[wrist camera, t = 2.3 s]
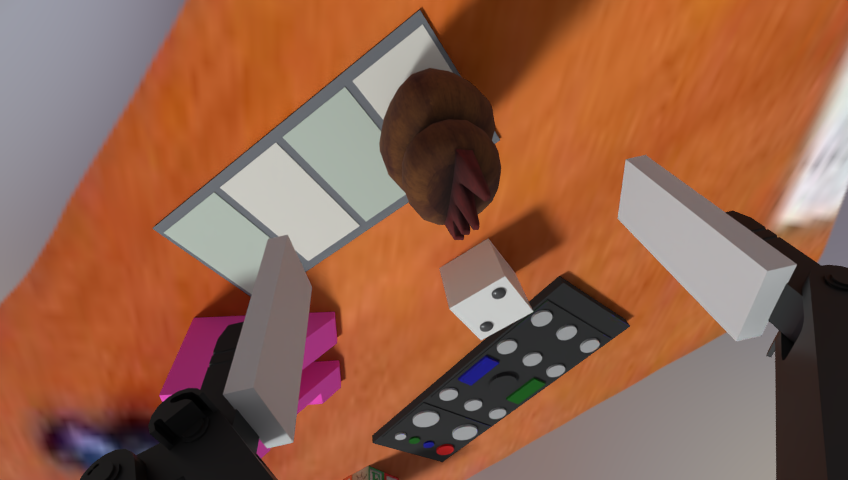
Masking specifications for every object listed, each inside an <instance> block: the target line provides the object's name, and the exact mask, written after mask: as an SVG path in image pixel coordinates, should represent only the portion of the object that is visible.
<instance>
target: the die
mask: <svg viewBox="0 0 848 480" xmlns="http://www.w3.org/2000/svg"><path fill="white" fill-rule="evenodd" d="M439 269H440V273H441V277H442V281H443V285H444V289H445V293H446V297H447V301H448V305H449V309H450V310H451V311H452V312H453V313H454V314H455V315H456V316H457V317H458V318H459V319H460V320H461V321H462V322H463V323H464V324H465V325H466V326H467V327H468V328H469V329H470V330H471V331H472V332H473V333H474V334H475V335H476V336H477V337H478V338H479V339H480V340H483V339H484V338H486V337H488V336H490V335H492V334H494V333H495V332H497V331H499V330H501V329H503V328H505V327H506V326H508V325H510V324H512V323H514V322H515V321H517V320H519V319H521V318H523V317H525V316H526V315H528V314H530V313H532V312H533V310H532V308H531V306H530V303H529V301H528V299H527V297H526V295H525V293H524V291H523V289H522V286H521V284H520V282H519V280H518V278H517V276H516V274H515V272H514V271H513V269H512V268H511V267H510V266H509V264H508V263H507V262H506V260H505V259H504V258H503V257H502V255H501V254H500V253H499V251H498V250H497V249H496V247H495V246H494V245H493V244H492V242H491V241H490V240H489V238H488V239H486V240H484V241H483V242H481V243H480V244H478V245H476V246H475V247H473V248H471V249H470V250H468V251H467V252H465V253H463V254H462V255H460V256H458V257H457V258H455V259H454V260H452V261H450V262H449V263H447V264H445V265H444V266H442V267H441V268H439Z"/></svg>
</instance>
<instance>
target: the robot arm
mask: <svg viewBox="0 0 848 480" xmlns="http://www.w3.org/2000/svg"><path fill="white" fill-rule="evenodd" d="M618 219H619V220H620V221H621V223H622V224H623V225H624V226H625V227H626V228H627V229H628V230H629V231H630V232H631V233H632V234H633V235H634V236H635V237H636V238H637V239H638V240H639V241H640V242H641V243H642V244H643V245H644V246H645V247H646V248H647V249H648V251H649V252H650V253H651V254H652V255H653V256H654V257H655V258H656V259H657V260H658V261H659V262H660V263H661V264H662V265H663V266H664V267H665V268H666V269H667V270H668V271H669V272H670V273H671V274H672V275H673V276H674V277H675V279H676V280H677V281H678V282H679V283H680V284H681V285H682V286H683V287H684V288H685V289H686V290H687V291H688V292H689V293H690V294H691V295H692V296H693V297H694V298H695V299H696V300H697V301H698V302H699V303H700V304H701V305H702V307H703V308H704V309H705V310H706V311H707V312H708V313H709V314H710V315H711V316H712V317H713V318H714V319H715V320H716V321H717V322H718V323H719V324H720V325H721V326H722V327H723V328H724V329H725V330H726V331H727V332H728V333H729V334H730V336H731V337H732V338H734V340H735V341H740V340H744V339H749V338H753V337H758V336H762V334H763V332H764V330H765V328H766V326H767V324H768V322H771V323H772V324H773V325H774V326H775V327H776V328H777V329H778V330H779V332H778V333H777V335H776V337H775V339H774V341H773V343H772V345H771V346H770V348H769V350H768V353H767V356H769V357H771V356H772V355H773V352H775V357H776V358H775V360H776V361H775V367H776V368H775V369H776V478H777V479H776V480H848V268H846V267H842V266H833V265H824V266H821V265H819V264H818V263H816V262H815V261H814V260H812V259H811V258H809V257H808V256H806V255H805V254H803V253H802V252H800V251H799V250H797V249H796V248H795V247H793V246H792V245H790V244H789V243H787V242H786V241H784V240H783V239H781V238H780V237H779V238H777V235H776V234H774V233H773V232H771V231H770V230H768V229H767V230H766V229H765V227H764V226H763V225H761V224H760V223H758V222H757V221H755V220H754V219H752V218H751V217H748V216H745V215H743V214H740V213H738V212H735V211H729V212H724V211H722V210H721V209H720V208H718V207H717V206H715V205H714V204H713V203H711V202H710V201H708V200H707V199H706V198H704V197H703V196H702V195H700V194H699V193H697V192H696V191H695V190H693V189H692V188H690V187H689V186H688V185H686V184H685V183H684V182H682V181H681V180H679V179H678V178H677V177H675V176H674V175H672V174H671V173H670V172H668V171H667V170H665V169H664V168H663V167H661V166H660V165H659V164H657V163H656V162H654V161H653V160H652V159H650V158H649V157H647V156H646V155H643V156H639V157H634V158H630V159H626V162H625V169H624V176H623V184H622V191H621V198H620V205H619V213H618ZM311 292H312V286H311V284H310V281H309V279H308V277H307V275H306V273H305V271H304V268H303V266H302V264H301V262H300V260H299V258H298V256H297V253H296V251H295V249H294V247H293V245H292V243H291V240H290V238H289V236H288V235H284V236H279V237H275V238H270V239H268V240H267V244H266V247H265V251H264V254H263V258H262V261H261V265H260V268H259V271H258V275H257V278H256V282H255V285H254V289H253V292H252V296H251V299H250V302H249V306H248V309H247V313H246V316H245V320H244V322H239V323H235V324H231V325H228V326H227V327H226V329H225V330H224V331H223V333H222V334H221V335H220V336H219V338H218V339H217V342H216V345H215V348H214V351H213V356H212V357H211V360H210V363H209V367H208V368H207V371H206V374H205V377H204V380H203V383H202V386H201V389H200V390H199V389H198V388H187V389H183V390H180V391H178V392H176V393H174V394H173V395H171V396H169V397H168V398H167V399H166V400H164V401H163V402H162V403H161V404H160V405H159V406H158V407H157V409H156V410H155V412H154V413H153V415H152V416H151V420H150V423H149V431H150V434H151V435H152V436H153V437H154V438H155V439H157V440H158V441H159V442H160V443H159V444H157V445H155V446H153V447H151V448H150V449H148V450H146V451H144V452H142V453H140V454H138V455H135V454H134V453H132V452H131V451H129V450H126V449H119V450H114V451H112V452H110V453H108V454H105V455H104V456H102V457H101V458H100V459H98V460H97V461H96V462H94V463H93V464H92V465H91V466H90V467H89V468H88V469H87V470H86V472H85V473H84V474H83V475H82V477H81V479H80V480H278V479H277V478H276V477H275V476H274V474H273V473H272V472H271V471H270V469H269V468H268V467H267V466H266V464H265V463H264V462H263V461H262V459H261V458H260V457H259V456H258V454H257V448H258V442H259V439H260V440H261V442H262V443H263V444H264V445H265V446H266V448H271V447H276V446H280V445H285V444H289V443H293V441H294V433H295V425H296V416H297V408H298V400H299V391H300V383H301V375H302V367H303V358H304V350H305V342H306V333H307V325H308V317H309V309H310V300H311Z"/></svg>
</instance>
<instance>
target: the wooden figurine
mask: <svg viewBox="0 0 848 480" xmlns="http://www.w3.org/2000/svg"><path fill="white" fill-rule="evenodd" d="M494 131H495V122H494V116H493V110H492V107H491V105H490V102H489V101H488V99H487V98H486V97H485V96H484V95H483V94H482V93H481V92H480V91H479V90H478V89H477V88H476V87H475V86H474V85H473V84H472V83H470V82H469V81H467V80H465V79H464V78H462V77H460V76H458V75H456V74H455V73H453V72H450V71H445V70H439V69H434V68H428V69H425V70H422V71H419V72H416V73H413V74H411V75H410V76H409V77H408V78H407V79H406V80H405V82H404V83H403V84H402V85H401V86H400V87H399V88H398V90H397V92H396V93H395V95H394V97H393V98H392V100H391V102H390V104H389V107H388V109H387V112H386V114H385V117H384V120H383V125H382V130H381V136H380V142H379V147H380V153H381V156H382V158H383V161H384V164H385V167H386V169H387V172H388V175H389V176H390V177H391V178H392V179H393V180H394V182H395V183H396V184H397V185H398V186H399V187H400V188H401V189H402V190H403V191H404V192H405V193H406V196H407V199H408V201H409V204H410V205H411V206H412V207H413V208H414V209H415V211H416V212H417V213H418V214H419V215H420V216H421V217H422V218H423V219H424V220H426V221H429V222H432V223H435V224H438V225H445V226H446V227H447V229H448V231H449V232H450V234H451V235H452V237H453V238H454V240H463V239H464V235H469V234H470V226H471V227H472V229H473V230H478V229H479V219H478V214H479V213H481V212H482V211H483V210H484V209H485V208H486V207H487V206H488V205H489V204H490V203H491V202H492V200H493V198H494V196H495V194H496V192H497V189H498V186H499V180H500V174H501V164H500V159H499V153H498V150H497V148H496V146H495V144H494V143H493V142H492V138H493V135H494ZM469 224H470V225H469Z"/></svg>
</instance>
